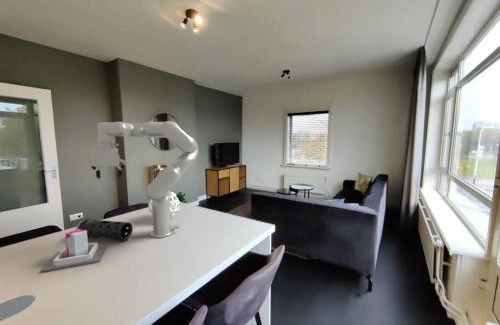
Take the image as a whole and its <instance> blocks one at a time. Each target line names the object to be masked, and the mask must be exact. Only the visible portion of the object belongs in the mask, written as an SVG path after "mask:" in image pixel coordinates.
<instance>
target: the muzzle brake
mask: <svg viewBox="0 0 500 325" xmlns="http://www.w3.org/2000/svg"><path fill="white" fill-rule="evenodd" d="M75 228H76V229H75V230H77V229H81V230H87V238H92V239H96V240H97V239H106V240H111V241H119V242H120V241H121V242H126V241H128V239H129V238H130V237H131V236H132V234H133V228H134V227H133V223H132V222H129V221H128V222H126V221H117V220H115V221H113V220H101V219H94V218H86V219H82V220H80V221H79V222H78V224H77V225H76V227H75Z"/></svg>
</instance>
